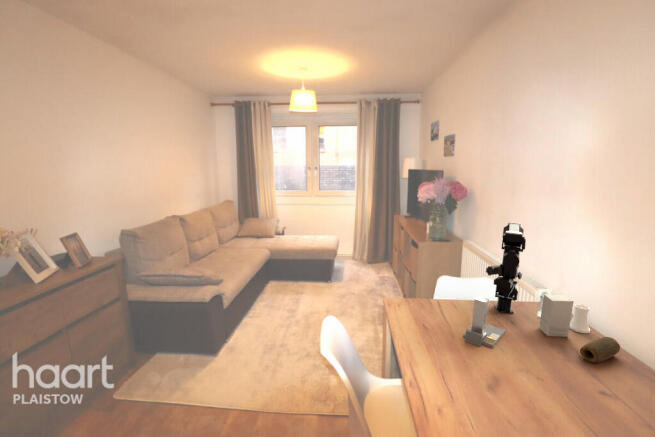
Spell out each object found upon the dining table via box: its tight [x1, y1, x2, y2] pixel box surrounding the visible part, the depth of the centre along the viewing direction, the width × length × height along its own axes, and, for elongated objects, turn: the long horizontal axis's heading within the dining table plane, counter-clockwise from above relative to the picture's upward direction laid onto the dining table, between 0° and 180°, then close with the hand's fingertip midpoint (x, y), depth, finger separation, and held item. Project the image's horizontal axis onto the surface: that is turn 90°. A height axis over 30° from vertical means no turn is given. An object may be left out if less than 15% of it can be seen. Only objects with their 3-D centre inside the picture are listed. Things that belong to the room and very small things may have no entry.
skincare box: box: [538, 293, 574, 338], centre depth 129 cm, size 8×7×16 cm
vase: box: [569, 303, 591, 334], centre depth 133 cm, size 8×8×10 cm
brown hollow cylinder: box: [579, 336, 621, 363], centre depth 113 cm, size 15×7×7 cm, turn 119°
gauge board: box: [462, 323, 506, 349], centre depth 126 cm, size 19×11×4 cm, turn 137°
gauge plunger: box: [471, 295, 495, 341], centre depth 121 cm, size 5×9×15 cm, turn 47°
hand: (505, 297), depth 134 cm, fingers closed
